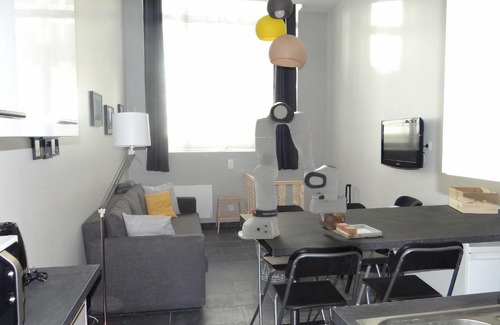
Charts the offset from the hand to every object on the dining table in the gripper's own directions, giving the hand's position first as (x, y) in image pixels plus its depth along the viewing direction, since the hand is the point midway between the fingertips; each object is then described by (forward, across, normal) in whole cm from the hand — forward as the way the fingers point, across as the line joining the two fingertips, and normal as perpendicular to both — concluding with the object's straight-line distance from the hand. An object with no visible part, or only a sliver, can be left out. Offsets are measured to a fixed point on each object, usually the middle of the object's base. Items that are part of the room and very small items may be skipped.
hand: (327, 221), depth 190 cm
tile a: (+5, -11, -3) cm, 13 cm away
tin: (+8, -12, -17) cm, 23 cm away
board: (+7, -11, +1) cm, 13 cm away
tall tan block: (+3, 0, 0) cm, 3 cm away
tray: (+7, -21, +1) cm, 22 cm away
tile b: (+5, -11, +5) cm, 13 cm away
